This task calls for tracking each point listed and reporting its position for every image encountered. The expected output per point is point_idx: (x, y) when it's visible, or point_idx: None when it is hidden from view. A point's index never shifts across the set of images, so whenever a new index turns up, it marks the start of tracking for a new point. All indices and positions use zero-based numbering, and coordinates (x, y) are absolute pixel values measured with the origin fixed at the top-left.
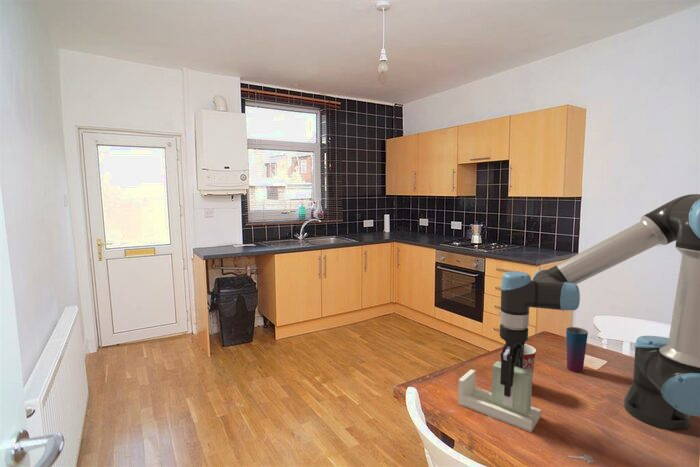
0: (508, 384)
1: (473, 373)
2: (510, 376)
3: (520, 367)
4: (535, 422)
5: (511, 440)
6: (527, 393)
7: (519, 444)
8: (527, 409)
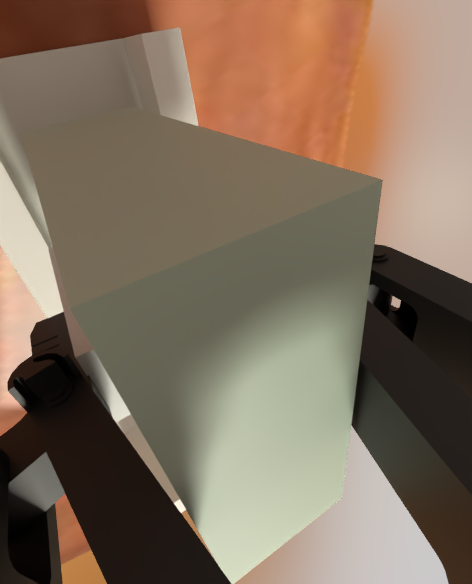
0: (400, 258)
1: (173, 494)
2: (456, 301)
3: (6, 524)
4: (45, 57)
5: (284, 81)
6: (202, 130)
7: (286, 32)
8: (120, 115)
